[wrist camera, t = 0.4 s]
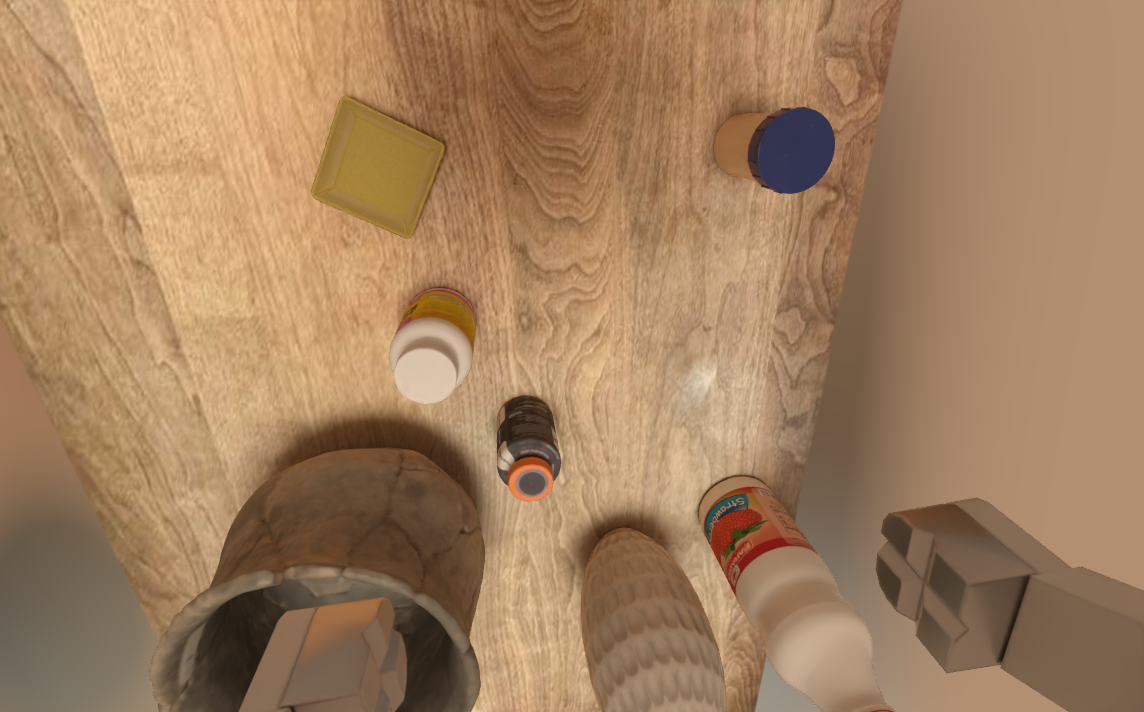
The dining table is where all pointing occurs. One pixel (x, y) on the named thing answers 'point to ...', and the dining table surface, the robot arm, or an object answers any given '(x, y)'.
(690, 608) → the vase
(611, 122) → the dining table surface
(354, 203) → the yellow square tray
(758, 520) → the fruit juice
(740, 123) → the jar
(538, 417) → the pill bottle
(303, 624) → the robot arm
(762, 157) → the lid
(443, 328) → the supplement bottle
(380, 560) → the pot
